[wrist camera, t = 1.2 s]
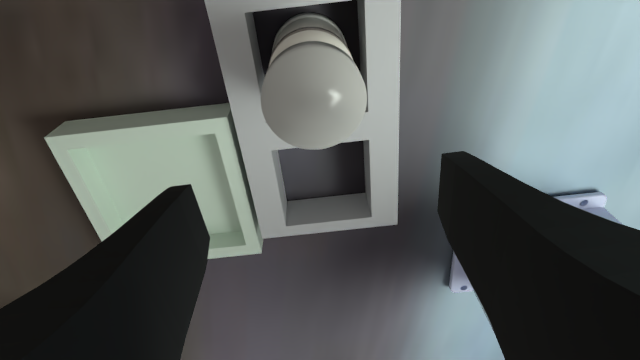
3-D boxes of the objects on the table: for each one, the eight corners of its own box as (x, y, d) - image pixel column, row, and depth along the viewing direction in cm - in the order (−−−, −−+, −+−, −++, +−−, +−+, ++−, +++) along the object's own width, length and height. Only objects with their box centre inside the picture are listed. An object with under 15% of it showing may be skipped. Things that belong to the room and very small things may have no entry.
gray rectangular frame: (388, -31, 17) (401, -27, 15) (389, 199, 24) (397, 224, 22) (215, -10, 17) (203, -3, 15) (265, 212, 24) (262, 238, 22)
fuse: (343, 8, 18) (364, 41, 12) (348, 83, 20) (368, 143, 14) (267, 17, 18) (250, 54, 12) (279, 91, 20) (270, 154, 14)
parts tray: (233, 102, 20) (227, 117, 19) (264, 232, 25) (261, 253, 23) (65, 121, 20) (43, 137, 19) (128, 246, 25) (116, 268, 24)
